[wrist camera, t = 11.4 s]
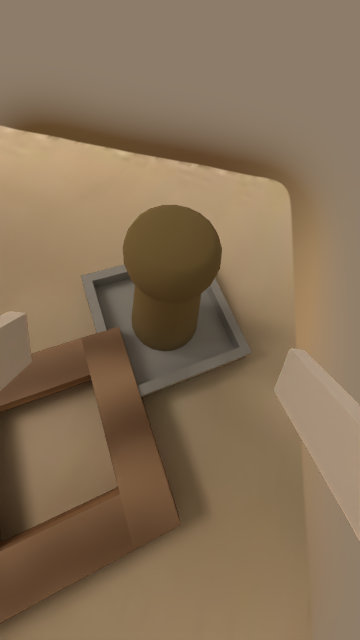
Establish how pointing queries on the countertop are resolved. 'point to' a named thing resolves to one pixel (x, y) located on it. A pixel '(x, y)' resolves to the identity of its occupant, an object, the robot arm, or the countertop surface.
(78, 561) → the socket block
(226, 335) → the tray
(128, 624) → the countertop surface
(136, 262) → the olive brown bulbous peg
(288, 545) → the countertop surface
